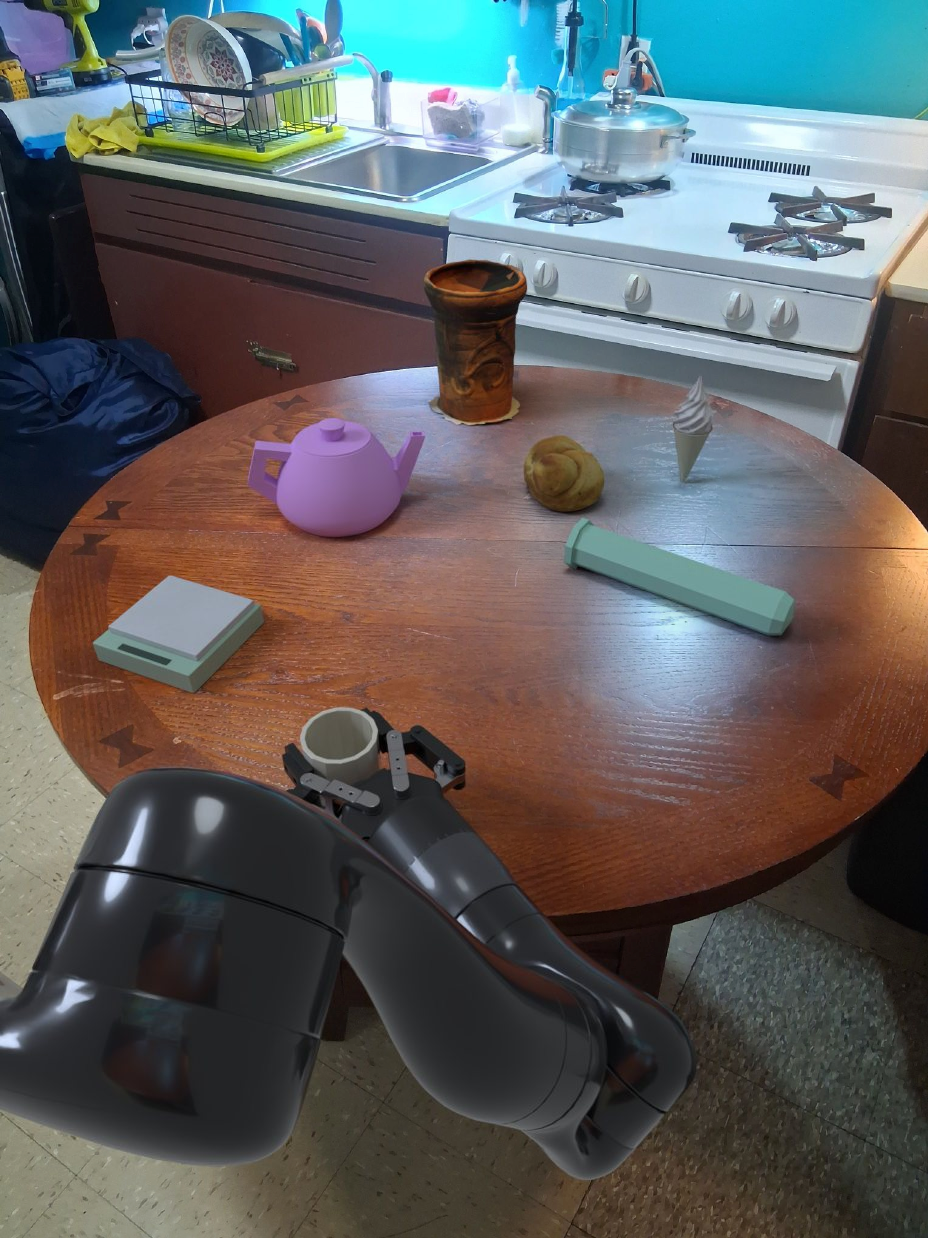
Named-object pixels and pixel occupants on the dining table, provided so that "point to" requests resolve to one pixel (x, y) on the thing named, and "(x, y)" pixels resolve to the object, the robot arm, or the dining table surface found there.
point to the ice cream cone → (692, 428)
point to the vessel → (475, 338)
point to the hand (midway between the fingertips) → (326, 734)
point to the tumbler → (342, 745)
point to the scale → (179, 633)
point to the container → (680, 579)
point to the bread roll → (563, 474)
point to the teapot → (335, 477)
